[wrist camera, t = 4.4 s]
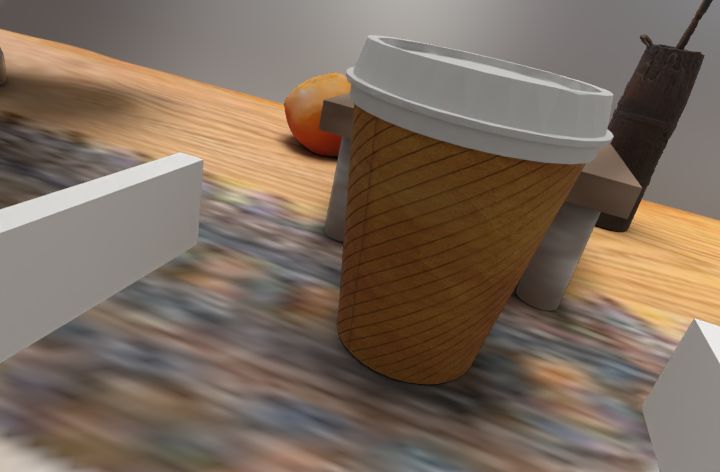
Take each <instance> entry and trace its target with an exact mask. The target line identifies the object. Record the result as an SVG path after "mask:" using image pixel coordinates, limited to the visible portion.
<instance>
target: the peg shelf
mask: <svg viewBox="0 0 720 472" xmlns="http://www.w3.org/2000/svg"><path fill="white" fill-rule="evenodd" d="M353 109H354V102H353V101H352V100H351V99H350V92H349V93H346V94H342V95H339V96H335V97H332V98H328V99H325V100H323V106H322V112H321V118H320V124H319V130H322V131H325V132H329V133H332V134H336V135H339V136H342V140H341V145H340V150H339V155H338V161H337V166H336V171H335V176H334V182H333V187H332V192H331V197H330V202H329V208H328V213H327V218H326V223H325V229H324V232H325V234H326V235H327V236H329V237H330V238H332V239H334V240H337V241H341V242H344V228H345V216H346V203H347V186H348V181H349V166H350V151H351V136H352V121H353ZM641 190H642V187H641V185H640V184H639V183H638V181H637V180H636V178H635V177H634V176H633V174H632V173H631V172H630V170H629V169H628V167H627V166H626V165H625V163H624V162H623V160H622V159H621V158H620V156H619V155H618V153H617V152H616V151H615V149H614V148H613V146H612V145H611V144H610V143H609V144H608V145H607V146H605V147H600V149H599V151H598V153H597V155H596V157H595V159H594V160H592V161H590V162H589V163H586V164H585V166H584V168H583V170H582V171H581V173H580V175H579V176H578V178H577V180H576V182H575V184H574V186H573V187H572V189H571V191H570V192H569V194H568V196H567V197H566V199H565V201H564V203H563V204H562V206H561V208H560V209H559V212H558V213H557V215H556V217H555V218H554V220H553V222H552V224H551V225H550V227H549V229H548V231H547V232H546V234H545V236H544V238H543V239H542V241H541V243H540V244H539V246H538V248H537V250H536V251H535V254H534V256H533V257H532V259H531V261H530V262H529V264H528V266H527V268H526V270H525V271H524V273H523V275H522V277H521V280H520V282H519V285H518V287H517V290H516V293H517V295H518V297H519V298H520V299H521V300H522V301H524V302H525V303H527V304H528V305H530V306H533V307H535V308H538V309H541V310H547V311H552V310H556V309H557V308H558V306H559V304H560V302H561V299H562V297H563V295H564V293H565V291H566V288H567V286H568V284H569V282H570V279H571V277H572V275H573V273H574V271H575V268H576V266H577V264H578V262H579V259H580V257H581V255H582V253H583V251H584V248H585V246H586V244H587V242H588V239H589V237H590V235H591V233H592V231H593V228H594V226H595V224H596V222H597V219H598V217H599V215H600V213H601V212H604V213H607V214H610V215H614V216H617V217H621V218H624V219H628V217H629V215H630V213H631V211H632V209H633V207H634V205H635V202H636V200H637V198H638V196H639V194H640V192H641Z"/></svg>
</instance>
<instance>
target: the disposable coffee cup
mask: <svg viewBox="0 0 720 472" xmlns="http://www.w3.org/2000/svg"><path fill="white" fill-rule="evenodd" d="M346 77H347V80H348V82H349V83H351V89H350V99H351V100H352V101H353V102H354V109H353V121H352V136H351V151H350V166H349V181H348V186H347V203H346V216H345V228H344V242H343V255H342V268H341V283H340V300H339V313H338V319H337V329H338V333H339V337H340V339H341V340H342V342H343V344H344V345H345V347H346V348H347V349H348V350H349V351H350V352H351V353H352V354H353V355H354V356H355V357H356V358H357V359H358V360H359V361H361V362H362V363H363V364H365V365H366V366H368V367H370V368H371V369H373V370H375V371H376V372H379V373H381V374H383V375H386V376H388V377H390V378H394V379H397V380H401V381H404V382H410V383H418V384H439V383H444V382H449V381H452V380H454V379H456V378H459V377H461V376H462V375H463V374H465V373H466V372H467V371H468V369H469V368H470V366H471V365H472V363H473V361H474V359H475V357H476V355H477V353H478V352H479V350H480V348H481V347H482V345H483V343H484V341H485V339H486V338H487V336H488V334H489V332H490V331H491V329H492V327H493V325H494V324H495V322H496V320H497V318H498V317H499V315H500V313H501V311H502V310H503V308H504V306H505V304H506V303H507V301H508V299H509V298H510V296H511V294H512V292H513V290H514V289H515V287H516V285H517V284H518V282H519V280H520V278H521V276H522V275H523V273H524V271H525V270H526V268H527V266H528V264H529V262H530V261H531V259H532V257H533V256H534V254H535V251H536V250H537V248H538V246H539V244H540V243H541V241H542V239H543V238H544V236H545V234H546V232H547V231H548V229H549V227H550V225H551V224H552V222H553V220H554V218H555V217H556V215H557V213H558V212H559V209H560V208H561V206H562V204H563V203H564V201H565V199H566V197H567V196H568V194H569V192H570V191H571V189H572V187H573V186H574V184H575V182H576V180H577V178H578V176H579V175H580V173H581V171H582V170H583V168H584V166H585V164H586V163H589V162H590V161H592V160H594V159H595V157H596V155H597V153H598V151H599V149H600V147H605V146H607V145H608V144H609V143H611V141H612V139H613V137H614V136H613V134H612V133H611V132H610V131H609V130H608V129H607V128H608V122H609V116H610V110H611V105H612V99H613V94H612V93H611V92H610V91H607V90H605V89H602V88H599V87H596V86H593V85H591V84H587V83H584V82H582V81H579V80H575V79H572V78H568V77H565V76H561V75H558V74H554V73H551V72H547V71H543V70H539V69H535V68H531V67H527V66H524V65H520V64H516V63H511V62H508V61H504V60H499V59H496V58H491V57H487V56H483V55H479V54H474V53H470V52H465V51H460V50H456V49H451V48H446V47H441V46H436V45H431V44H427V43H421V42H416V41H411V40H405V39H399V38H393V37H386V36H371V35H369V36H368V38H367V40H366V42H365V45H364V47H363V50H362V51H361V54H360V56H359V58H358V60H357V63H356V65H355V67H351V68H349V69H347V74H346Z"/></svg>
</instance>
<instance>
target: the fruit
mask: <svg viewBox="0 0 720 472" xmlns="http://www.w3.org/2000/svg"><path fill="white" fill-rule="evenodd" d="M350 89H351V83H349V82H348V80H347V77H346V76H345V75H342V74H340V73H330V74H325V75H321V76H316V77H314V78H311V79H309V80H307V81H305V82H303V83H302V84H301V85H299V86H297V87H296V88H295V89H294V90H293V91H292V92H291V93H290V94H289V96H288V97H287V98H286V100H285V103H284V106H285V114H286V118H287V122H288V125H289V128H290V130H291V132H292V133H293V135H294V137H295V138H296V139H297V140H298V142H300V143H301V144H302V145H304V146H305V147H306V148H308V149H309V150H310V151H312V152H314V153H316V154H318V155H322V156H338V155H339V150H340V145H341V140H342V136H339V135H336V134H332V133H329V132H325V131H322V130H319V124H320V118H321V112H322V106H323V100H325V99H328V98H332V97H335V96H339V95H342V94H346V93H349V92H350Z"/></svg>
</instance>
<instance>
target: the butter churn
mask: <svg viewBox="0 0 720 472" xmlns="http://www.w3.org/2000/svg"><path fill="white" fill-rule="evenodd" d="M711 2H712V0H703V2H702V4H701V6H700V7H699V9H698V11H697V12H696V15H695V17H694V18H693V19H692V22H691V24H690V25H689V27H688V28H687V30H686V31H685V33H684V34H683V36H682V38H681V39H680V41H679V43H678V44H677V46H676V47H671V46H666V45H653V43H652V41H651V39H650V38H649V37H648V36H647V35H645V34H644V35H641V36H640V39H641V40H642V42H643V43H644V44H645V45H646V46H647V48H646V50H645V51H644V54H643V56H642V57H641V60H640V61H639V64H638V66H637V68H636V70H635V72H634V74H633V76H632V77H631V79H630V81H629V82H628V84H627V86H626V88H625V91H624V95H623V96H622V97H621V99H620V100H619V102H618V107H617V109H615V111H614V114H613V118H612V119H611V122H610V124H609V126H608V128H607V129H608V130H609V131H610V132H611V133H612V134H613V136H614V137H613V139H612V141H611V143H610V144H611V145H612V146H613V148H614V149H615V151H616V152H617V153H618V155H619V156H620V158H621V159H622V160H623V162H624V163H625V165H626V166H627V167H628V169H629V170H630V172H631V173H632V174H633V176H634V177H635V178H636V180H637V181H638V183H639V184H640V185H641V187H642V190H641V192H640V194H639V196H638V198H637V200H636V202H635V205H634V207H633V209H632V211H631V213H630V215H629V217H628V219H624V218H621V217H617V216H614V215H610V214H607V213H604V212H601V213H600V215H599V217H598V219H597V222H596V224H595V225H597V226H600V227H603V228H605V229H608V230H613V231H618V232H623V231H626V230H627V229H628V228H629V226H630V224H631V221H632V219H633V217H634V215H635V213H636V211H637V208H638V206H639V204H640V202H641V199H642V197H643V195H644V192H645V190H646V188H647V186H648V185H649V183H650V180H651V176H652V174H653V173H654V169H655V167H656V165H657V163H658V160H659V158H660V157H661V155H662V153H663V150H664V149H665V147H666V144H667V142H668V139H669V138H670V137H671V135H672V133H673V131H674V130H675V128H676V126H677V122H678V120H679V118H680V116H681V114H682V112H683V110H684V108H685V106H686V104H687V101H688V98H689V96H690V93H691V90H692V88H693V86H694V83H695V80H696V78H697V75H698V72H699V70H700V67H701V64H702V61H703V58H704V55H703V54H701V52H693V51H688V50H684V47H685V46H686V44H687V43H688V41H689V39H690V36H691V35H692V34H693V32H694V31H695V28H696V27H697V24H698V22H699V20H700V19H701V18H702V16H703V14H704V13H705V12H706V11H707V9H708V7H709V6H710V4H711Z"/></svg>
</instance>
